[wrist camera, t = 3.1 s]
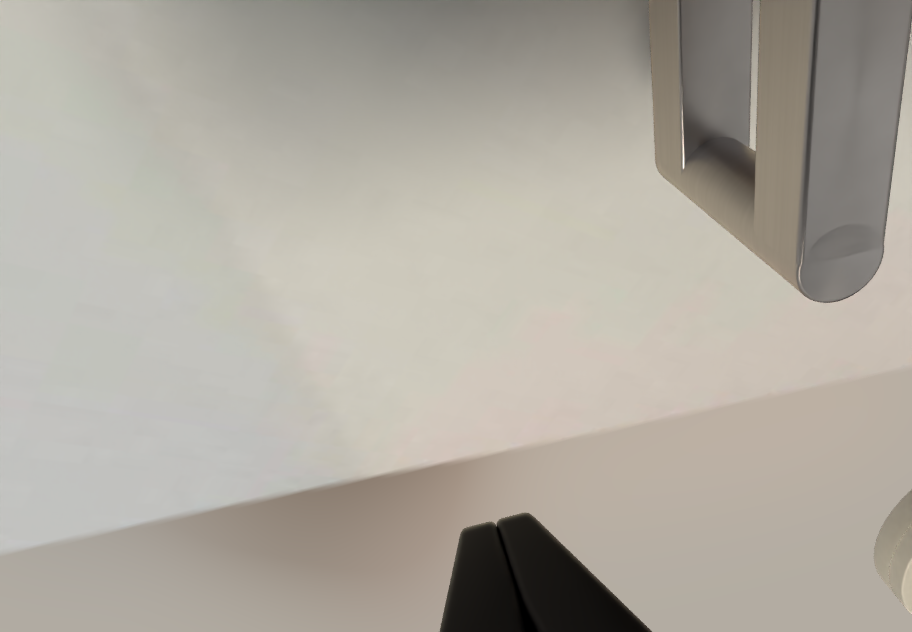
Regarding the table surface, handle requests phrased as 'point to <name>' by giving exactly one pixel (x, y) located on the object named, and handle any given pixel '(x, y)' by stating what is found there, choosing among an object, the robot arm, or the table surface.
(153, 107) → the table surface
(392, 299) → the table surface
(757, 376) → the table surface
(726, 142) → the wooden cabinet door
